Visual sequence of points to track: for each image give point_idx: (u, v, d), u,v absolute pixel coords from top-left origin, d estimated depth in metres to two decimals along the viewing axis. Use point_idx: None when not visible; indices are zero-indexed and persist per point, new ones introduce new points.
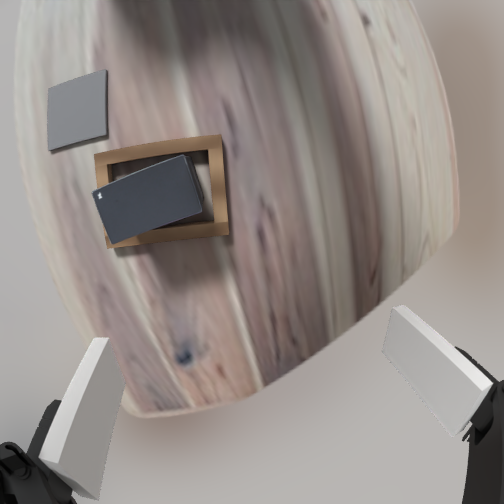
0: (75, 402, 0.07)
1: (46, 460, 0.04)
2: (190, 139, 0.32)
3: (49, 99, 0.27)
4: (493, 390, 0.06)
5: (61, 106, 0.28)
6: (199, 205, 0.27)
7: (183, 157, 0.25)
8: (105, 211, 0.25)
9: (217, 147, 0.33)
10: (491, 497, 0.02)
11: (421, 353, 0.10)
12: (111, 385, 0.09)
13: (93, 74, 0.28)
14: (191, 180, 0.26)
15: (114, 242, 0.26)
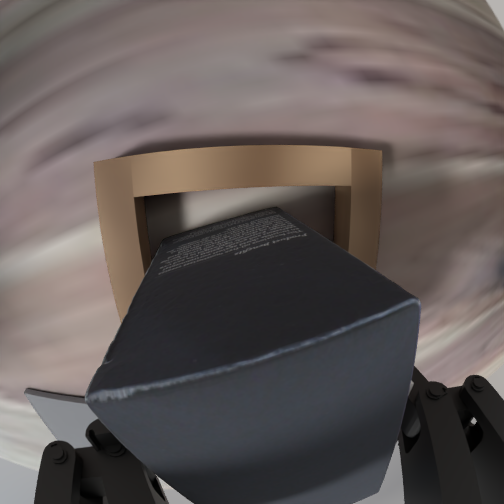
0: None
1: None
2: (109, 248, 0.11)
3: None
4: (419, 391, 0.07)
5: None
6: (390, 316, 0.04)
7: (96, 402, 0.04)
8: None
9: (129, 169, 0.10)
10: None
11: None
12: None
13: (36, 409, 0.15)
14: (232, 371, 0.04)
15: (377, 490, 0.07)
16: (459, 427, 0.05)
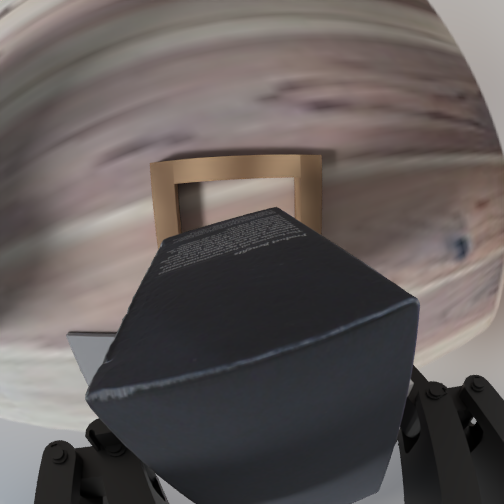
0: None
1: None
2: (157, 213, 0.20)
3: None
4: None
5: None
6: (389, 315, 0.04)
7: (96, 401, 0.04)
8: None
9: (171, 168, 0.19)
10: None
11: None
12: None
13: (74, 350, 0.24)
14: (231, 370, 0.04)
15: (377, 490, 0.07)
16: (459, 428, 0.05)
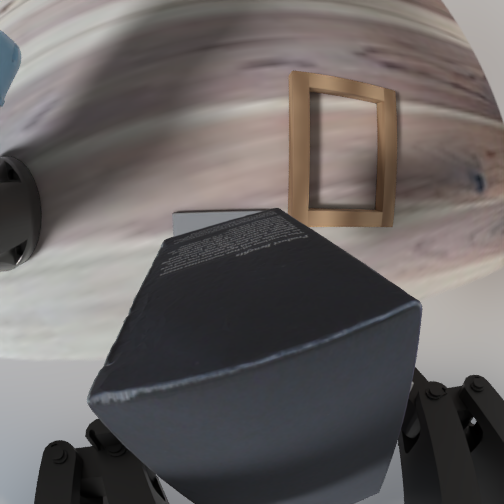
0: None
1: None
2: (295, 103, 0.25)
3: None
4: None
5: None
6: (391, 318, 0.04)
7: (98, 404, 0.04)
8: None
9: (308, 77, 0.25)
10: None
11: None
12: None
13: (176, 231, 0.29)
14: (234, 374, 0.04)
15: (378, 491, 0.07)
16: (459, 427, 0.05)
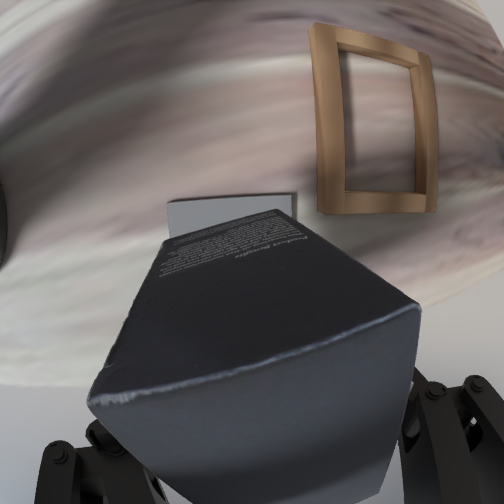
0: None
1: None
2: (322, 59, 0.18)
3: None
4: (419, 391, 0.07)
5: None
6: (391, 320, 0.04)
7: (98, 406, 0.04)
8: None
9: (334, 30, 0.17)
10: None
11: None
12: None
13: (172, 226, 0.22)
14: (233, 376, 0.04)
15: (377, 492, 0.07)
16: (459, 428, 0.05)
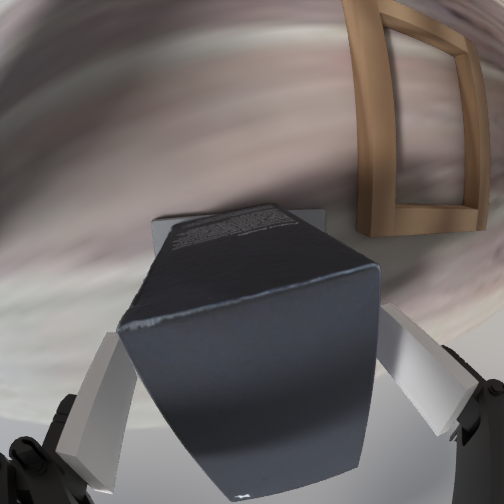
0: (91, 395, 0.07)
1: (63, 453, 0.05)
2: (364, 30, 0.12)
3: None
4: (480, 389, 0.06)
5: None
6: (355, 273, 0.06)
7: (127, 331, 0.05)
8: (283, 488, 0.08)
9: None
10: (480, 499, 0.03)
11: (407, 351, 0.10)
12: (124, 379, 0.10)
13: None
14: (237, 304, 0.05)
15: (356, 465, 0.09)
16: None
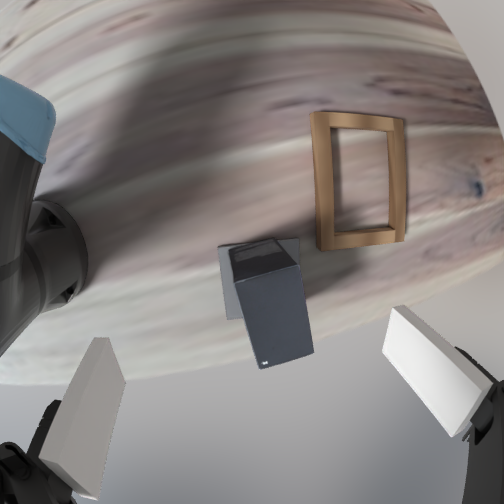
0: (75, 402, 0.07)
1: (46, 460, 0.04)
2: (319, 143, 0.30)
3: (241, 316, 0.37)
4: (493, 390, 0.06)
5: None
6: (292, 267, 0.24)
7: (236, 283, 0.24)
8: (281, 358, 0.27)
9: (328, 116, 0.29)
10: (491, 497, 0.02)
11: (421, 353, 0.10)
12: (111, 385, 0.09)
13: (222, 262, 0.34)
14: (263, 275, 0.24)
15: (312, 350, 0.27)
16: None
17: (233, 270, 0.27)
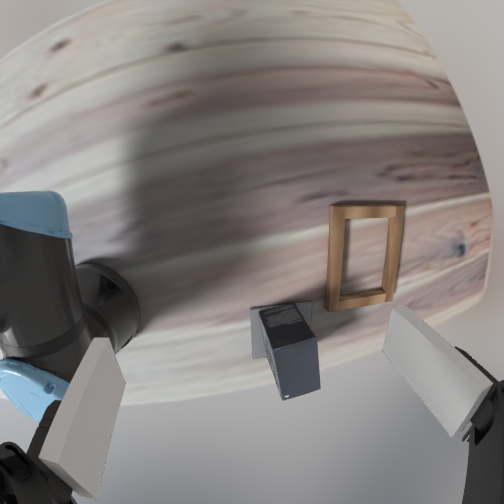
0: (75, 402, 0.07)
1: (46, 460, 0.04)
2: (335, 233, 0.40)
3: (264, 356, 0.46)
4: (493, 390, 0.06)
5: None
6: (311, 339, 0.34)
7: (274, 350, 0.33)
8: (298, 393, 0.36)
9: (344, 210, 0.39)
10: (491, 497, 0.02)
11: (420, 353, 0.10)
12: (111, 385, 0.09)
13: (253, 320, 0.43)
14: (292, 345, 0.34)
15: (319, 387, 0.37)
16: None
17: (268, 336, 0.36)
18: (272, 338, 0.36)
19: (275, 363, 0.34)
